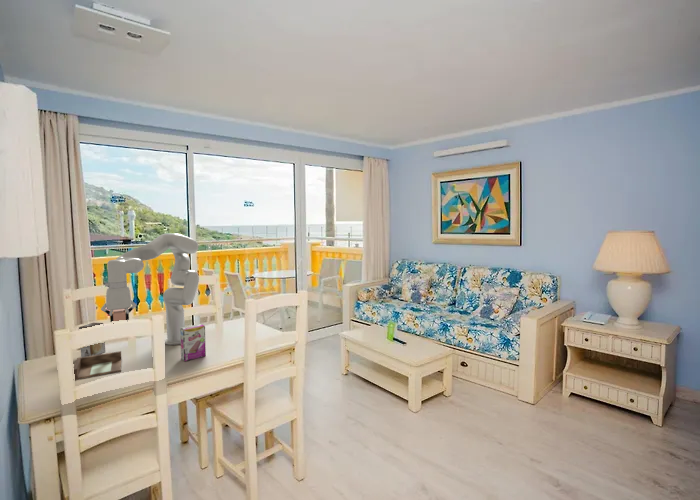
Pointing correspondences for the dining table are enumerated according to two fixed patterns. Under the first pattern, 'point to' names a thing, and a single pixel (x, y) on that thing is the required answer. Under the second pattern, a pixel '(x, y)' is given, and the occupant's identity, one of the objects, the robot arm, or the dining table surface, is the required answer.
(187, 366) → the dining table surface
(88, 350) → the coffee box
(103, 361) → the tray
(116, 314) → the bar
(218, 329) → the dining table surface
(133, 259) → the robot arm
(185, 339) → the candy bar box
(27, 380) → the dining table surface
